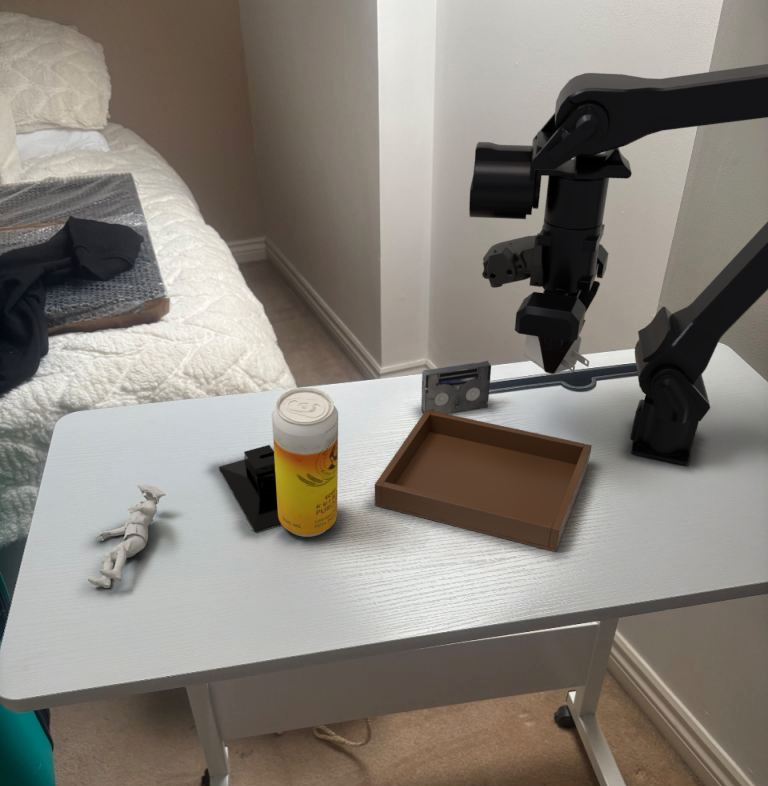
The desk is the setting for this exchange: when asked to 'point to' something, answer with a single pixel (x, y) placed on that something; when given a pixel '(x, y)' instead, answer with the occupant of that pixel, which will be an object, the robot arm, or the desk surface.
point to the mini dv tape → (456, 388)
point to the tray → (485, 478)
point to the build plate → (255, 487)
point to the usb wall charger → (568, 362)
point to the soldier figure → (129, 536)
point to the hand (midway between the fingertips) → (555, 360)
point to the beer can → (306, 460)
